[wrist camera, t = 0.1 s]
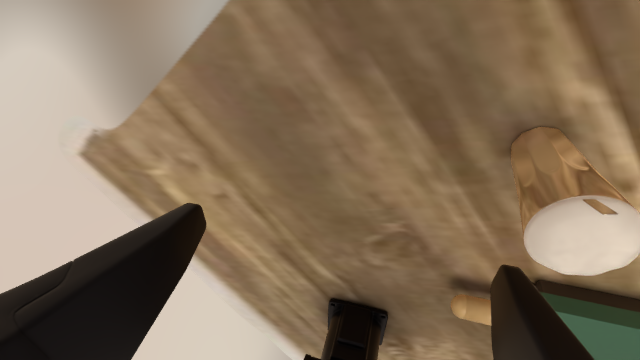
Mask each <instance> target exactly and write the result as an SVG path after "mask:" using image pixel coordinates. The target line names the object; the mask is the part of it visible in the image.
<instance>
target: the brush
mask: <svg viewBox="0 0 640 360" xmlns="http://www.w3.org/2000/svg"><path fill="white" fill-rule="evenodd" d="M535 287H536V288H537V290H538V291H539V292H540V293H541V295H542V296H543V297H544V298H545V299H546V301H547V302H548V303H549V304H550V306H551V307H552V308H553V309H554V310H555V312H556V313H557V314H558V315H559V317H560V318H561V319H562V320H563V321H564V323H565V324H566V325H567V326H568V328H569V329H570V330H571V331H572V332H573V334H574V335H575V336H576V337H577V339H578V340H579V341H580V342H581V343H582V345H583V346H584V347H585V348H586V350H587V351H588V352H589V353H590V354H591V356H592V357H593V358H594V359H595V360H640V300H637V299H632V298H627V297H622V296H617V295H612V294H607V293H602V292H597V291H592V290H587V289H582V288H577V287H572V286H567V285H562V284H557V283H552V282H547V281H542V280H539V281H538V283H537V284H536V286H535ZM451 309H452V311H453V313H454V314H455V315H456V316H457V317H459V318H461V319H465V320H469V321H473V322H478V323H482V324H486V325H491V300H487V299H482V298H478V297H473V296H468V295H463V294H460V295H457V296H455V297H454V298H453V299H452V301H451Z"/></svg>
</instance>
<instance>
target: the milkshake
mask: <svg viewBox="0 0 640 360" xmlns="http://www.w3.org/2000/svg"><path fill="white" fill-rule="evenodd" d="M511 164H512V169H513V175H514V180H515V185H516V190H517V195H518V201H519V207H520V215H521V222H522V230H523V237H524V244H525V247H526V250H527V252H528V253H529V255H530V256H531V257H532V258H533V259H534V260H535V261H536V262H538V263H539V264H541V265H543V266H546V267H548V268H550V269H552V270H555V271H557V272H559V273H562V274H566V275H585V276H592V275H598V274H601V273H604V272H607V271H610V270H614V269H618V268H622V267H624V266H626V265H628V264H629V263H630V262H632V261H633V260H634V259H635V258H636V257H637V256H638V255H639V254H640V213H639V212H638V211H637V210H636V209H635V208H634V207H633V206H632V205H631V204H630V203H629V202H628V201H627V200H626V199H625V198H624V197H623V196H622V195H621V194H620V193H619V192H618V191H617V190H616V189H615V188H614V187H613V186H612V185H611V184H610V183H609V182H608V181H607V180H606V179H605V178H604V177H603V176H602V175H601V174H599V173H598V172H597V171H596V169H595V168H594V167H593V166H592V165H591V164H590V163H589V162H588V160H587V159H586V158H585V157H584V156H583V155H582V154H581V153H580V151H579V150H578V149H577V148H576V147H575V146H574V145H573V144H572V142H571V141H570V140H569V139H568V138H567V137H566V136H565V135H564V134H563V133H562V132H561V131H560V130H559V129H555V128H548V127H541V126H540V127H537V128H534V129H532V130H529V131H526V132H523V133H521V135H520V136H519V137H518V138H517V139H516V140H515V141H514V142H513V144H512V145H511Z"/></svg>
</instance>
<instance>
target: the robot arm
mask: <svg viewBox="0 0 640 360" xmlns="http://www.w3.org/2000/svg"><path fill="white" fill-rule="evenodd" d="M205 229H206V220H205V217H204V213H203V210H202V207H201V206H200V205H198V204H193V203H187V204H184V205H182V206H180V207H178V208H176V209H174V210H172V211H170V212H168V213H166V214H164V215H162V216H160V217H158V218H156V219H154V220H152V221H150V222H148V223H146V224H144V225H142V226H140V227H138V228H136V229H134V230H133V231H130V232H128V233H127V234H124V235H123V236H121V237H118V238H117V239H114V240H113V241H110V242H109V243H106V244H104V245H103V246H101V247H98V248H96V249H94V250H92V251H91V252H88V253H86V254H84V255H83V256H80V257H79V258H76V259H75V260H74V261H70V262H68V263H66V264H64V265H62V266H60V267H59V268H56V269H54V270H52V271H50V272H48V273H46V274H44V275H42V276H40V277H38V278H35V279H33V280H31V281H29V282H27V283H24V284H22V285H20V286H18V287H16V288H13V289H11V290H9V291H6V292H4V293H1V294H0V360H131V359H132V357H133V356H134V354H135V352H136V351H137V349H138V347H139V346H140V344H141V343H142V341H143V339H144V338H145V336H146V334H147V332H148V331H149V329H150V328H151V326H152V325H153V323H154V321H155V320H156V318H157V317H158V315H159V313H160V312H161V310H162V308H163V307H164V305H165V304H166V302H167V300H168V299H169V297H170V295H171V294H172V292H173V291H174V289H175V287H176V286H177V284H178V282H179V280H180V279H181V277H182V276H183V274H184V272H185V271H186V269H187V267H188V265H189V263H190V261H191V259H192V257H193V255H194V253H195V250H196V248H197V246H198V244H199V242H200V240H201V238H202V236H203V234H204V232H205ZM490 293H491V335H492V350H493V358H494V360H595V359H594V358H593V357H592V356H591V354H590V353H589V352H588V351H587V350H586V348H585V347H584V346H583V345H582V343H581V342H580V341H579V340H578V339H577V337H576V336H575V335H574V334H573V332H572V331H571V330H570V329H569V328H568V326H567V325H566V324H565V323H564V321H563V320H562V319H561V318H560V317H559V315H558V314H557V313H556V312H555V310H554V309H553V308H552V307H551V306H550V304H549V303H548V302H547V301H546V299H545V298H544V297H543V296H542V295H541V293H540V292H539V291H538V290H537V288H536V287H535V286H534V285H533V284H532V282H531V281H530V280H529V279H528V277H527V276H526V275H525V274H524V273H523V271H522V270H521V269H520V268H518V267H514V266H509V265H502V266H500V268H499V270H498V272H497V274H496V276H495V278H494V280H493V282H492V284H491V291H490ZM387 319H388V313H387V312H385V311H382V310H378V309H374V308H369V307H365V306H361V305H357V304H353V303H349V302H344V301H340V300H336V299H330V301H329V308H328V333H327V337H326V341H325V345H324V349H323V352H322V356H321V359H318V358H315V357H311V355H308V354H306V355H305V358H304V360H377V358H378V350H379V345H381V344H382V341H383V336H384V332H385V328H386V323H387Z"/></svg>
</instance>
